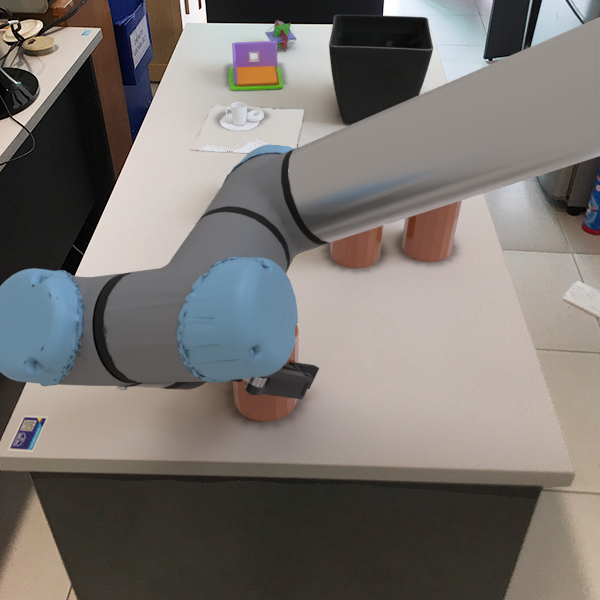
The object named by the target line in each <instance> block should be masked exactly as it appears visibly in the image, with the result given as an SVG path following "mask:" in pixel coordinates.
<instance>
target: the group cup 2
mask: <svg viewBox="0 0 600 600" xmlns="http://www.w3.org/2000/svg"><path fill="white" fill-rule="evenodd" d="M462 201H463V200H461V201H458V202H455V203H452V204H449V205H446V206H442V207H439V208H436V209H433V210H430V211H427V212H424V213H421V214H418V215H414V216H411V217H408V218H405V219H404V224H403V231H402V240H401V245H400V246H401V249H402V251H403V252H404V253H405V254H406V255H407V256H408V257H409V258H411V259H413V260H416V261H418V262H422V263H423V262H424V263H438V262H441V261H444V260H446V259H447V258H448V257H449V256H450V255H451V254H452V251H453V244H454V241H455V240H454V239H455V235H456V230H457V225H458V221H459V215H460V210H461V206H462Z"/></svg>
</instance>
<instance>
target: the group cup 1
mask: <svg viewBox="0 0 600 600" xmlns="http://www.w3.org/2000/svg"><path fill="white" fill-rule="evenodd" d="M384 227H385V225H383V226H380V227H377V228H374V229H371V230H368V231H364V232H361V233H358V234H355V235H352V236H349V237H346V238H343V239H339V240H336V241H333V242H330V247H329V252H330V257H331V259H332V260H333V261H334V262H335V263H336V264H338V265H340V266H342V267H345V268H347V269H355V270H358V269H366V268H369V267H372V266H374V265H375V264H376V263H377V262H378V261H380V257H381V253H382V244H383V236H384Z"/></svg>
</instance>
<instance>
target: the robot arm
mask: <svg viewBox="0 0 600 600" xmlns="http://www.w3.org/2000/svg"><path fill="white" fill-rule="evenodd" d="M599 157H600V16H599V17H597V18H594V19H592V20H589V21H588V22H585V23H583V24H580V25H578V26H575V27H573V28H571V29H569V30H567V31H564V32H561V33H559V34H557V35H555V36H552V37H551V38H550V37H549V38H548V39H546V40H543V41H541V42H539V43H537V44H534V45H532V46H529V47H527V48H525V49H523V50H520V51H519V52H516V53H514V54H511V55H508V56H506V57H504V58H502V59H500V60H497V61H495V62H493V63H491V64H488V65H485V66H483V67H481V68H479V69H477V70H475V71H472V72H469V73H467V74H465V75H463V76H460V77H458V78H455V79H453V80H451V81H449V82H446V83H444V84H442V85H440V86H437V87H434V88H432V89H430V90H428V91H426V92H423V93H421V94H419V96H416V97H414V98H412V99H409V100H407V101H405V102H403V103H400V104H398V105H396V106H393V107H391V108H389V109H386V110H384V111H382V112H379V113H377V114H375V115H373V116H370V117H368V118H366V119H363V120H361V121H359V122H356V123H354V124H348V125H347V126H345V127H342V128H340V129H337V130H336V131H333V132H331V133H329V134H327V135H324V136H322V137H320V138H317V139H315V140H313V141H311V142H308V143H305V144H303V145H300V146H298V147H297V148H292V147H289V146H281V145H271V144H269V145H264V146H261V147H258V148H256V149H254V150H252V151H251V152H250V153H246V155H245V156H244V157H243V158H242V159H241V161H239V162H238V163H236V164H235V165H234V166H233V167H232V169H231V171H230V172H229V173H228V174H227V175H226V177H225V179H224V181H223V183H222V185H221V187H220V188H219V189H218V191H217V193H215V196H214V197H213V199H212V200H211V201H210V203H209V205H208V206H207V208H206V209H205V210H204V212H203V214H202V215H201V217H200V218H199V219H198V220H197V221H196V223H195V225H194V226H193V228H192V229H191V230H190V231H189V233H188V235H187V236H186V237H185V239H184V240H183V242H182V243H181V244H180V246H179V247H178V249H177V250H176V252H175V253H174V255H173V256H172V258H171V259H170V261H169V262H168V263H166V265H164V266H162V267H159V268H158V267H157V268H151V269H144V270H143V269H142V270H134V271H130V272H123V273H114V274H106V275H98V276H78V275H72V274H71V273H70V272H67V271H66V270H64V269H59V270H53V269H52V270H51V269H44V268H37V267H35V268H34V267H33V268H27V269H23V270H20V271H18V272H16V273H14V274H12V275H11V276H9V277H8V278H7V279H6V280H4V282H2V284H1V285H0V373H1V374H2V375H3V376H5V377H6V378H8V379H10V380H13V381H16V382H21V383H31V384H39V385H40V386H42V387H51V386H58V385H59V386H85V387H116V388H117V389H118V390H119V391H126V390H127V389H128V388H148V389H162V390H180V391H181V390H184V391H186V390H193V389H196V388H199V387H201V386H203V385H204V384H206V383H210V384H212V383H214V384H221V383H222V384H225V383H229V382H230V381H232V382H233V381H235V382H242V381H243V380H244V381H246V383H245V385H244V386H245V387H246V389H245V390H246V392H248V393H249V394H251V395H260V394H267V395H274V396H281V397H286V398H295V399H297V400H304V397H305V395H306V393H307V391H308V390H310V389H311V387H312V384H313V382H314V380H315V378H316V376H317V375H318V372H319V370H320V367H318V366H317V365H315V364H311V363H303V362H298V363H296V362H289V364H286V362H287V361H288V359H289V358H290V356H291V353H292V351H293V348H294V345H295V342H296V337H295V326H296V325H297V326H298V324H299V313H298V312H299V311H298V305H297V304H298V303H297V299H296V294H295V291H294V288H293V284H292V282H291V280H290V278H289V277H288V274H287V273H288V271H289V269H290V267H291V265H292V262H293V261H294V258H295V257H296V256H297V255H299V254H302V253H305V252H308V251H310V250H314V249H317V248H319V247H321V246H324V245H328V244H331V242H333V241H336V240H339V239H343V238H346V237H349V236H352V235H355V234H358V233H361V232H364V231H368V230H371V229H374V228H377V227H380V226H383V225H384V226H386V225H389V224H393V223H397V222H399V221H402V220H405V218H408V217H411V216H414V215H418V214H421V213H424V212H427V211H430V210H433V209H436V208H439V207H442V206H446V205H449V204H452V203H455V202H458V201H461V200H462V201H464V200H468V199H471V198H473V197H476V196H480V195H483V194H486V193H489V192H492V191H495V190H499V189H501V188H505V187H507V186H511V185H514V184H517V183H520V182H524V181H527V180H530V179H532V178H536V177H539V176H542V175H546V174H549V173H552V172H554V171H558V170H560V169H564V168H567V167H570V166H573V165H577V164H579V163H583V162H586V161H589V160H592V159H595V158H599Z"/></svg>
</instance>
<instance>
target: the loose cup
mask: <svg viewBox="0 0 600 600" xmlns="http://www.w3.org/2000/svg"><path fill="white" fill-rule="evenodd" d="M295 337H296V342H295V345H294V348H293V351H292V353H291V356H290V358H289V359H288V361H287V362H286V364H289V362H296V363H299V325H298V324H297V325H296V326H295ZM245 383H246V381H244V380H243V381H242V382H235V381H232V389H233V400H234V401H233V402H234V406H235V407H236V409H237V410H238V412H239V413H240V414H241V415H243V416H244V417H246V418H247V419H249V420H252V421H256V422H261V423H266V422H275V421H278V420H280V419H282V418H284V417H286V416H288V415H289V414H290V413H292V411H293V410H294V409H295V408H296V405H297V402H298V399H295V398H286V397H281V396H274V395H267V394H260V395H251V394H249V393H248V392H246V390H245V389H246V387H245V386H244V385H245Z"/></svg>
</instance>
